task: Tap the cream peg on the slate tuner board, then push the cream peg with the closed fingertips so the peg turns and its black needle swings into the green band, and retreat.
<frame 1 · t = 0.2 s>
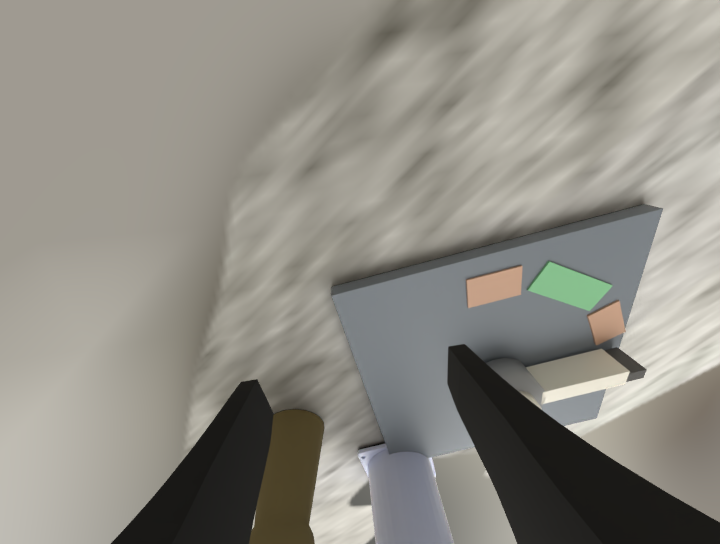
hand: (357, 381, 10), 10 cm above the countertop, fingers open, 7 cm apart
cork: (294, 426, 27), on the countertop
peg: (553, 386, 22), point 3 cm above the countertop, hinge at 0.0°
tuner board: (486, 360, 25), on the countertop
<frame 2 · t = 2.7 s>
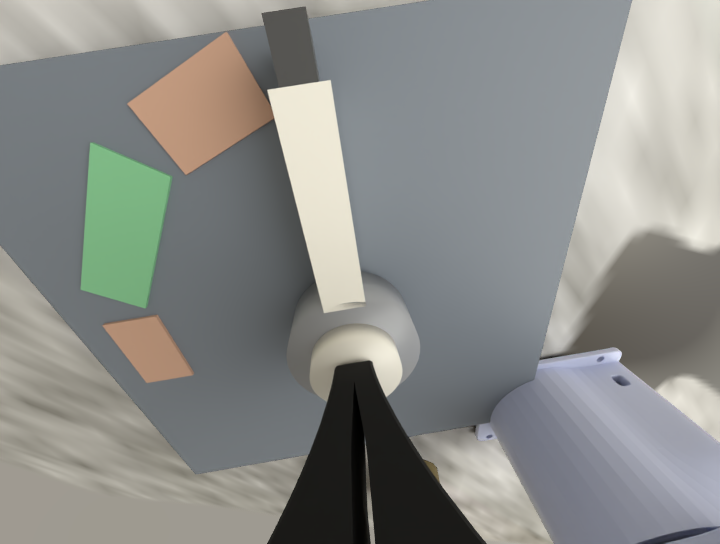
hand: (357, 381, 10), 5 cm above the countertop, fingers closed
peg: (337, 264, 10), point 3 cm above the countertop, hinge at 0.0°
tuner board: (331, 306, 15), on the countertop
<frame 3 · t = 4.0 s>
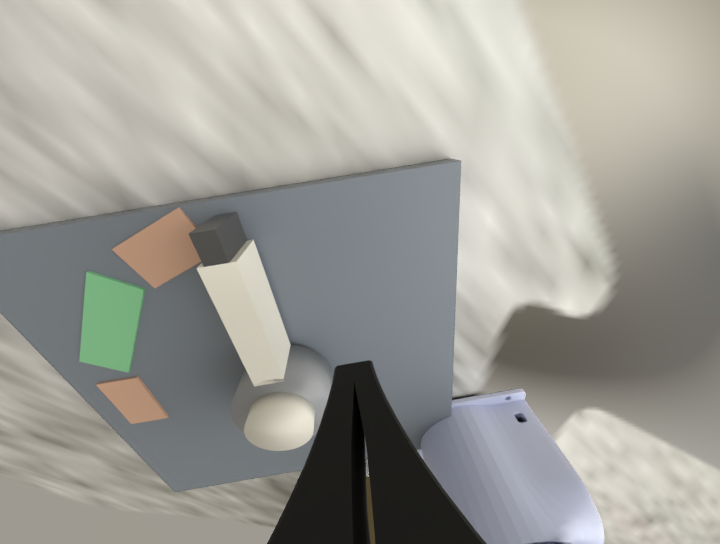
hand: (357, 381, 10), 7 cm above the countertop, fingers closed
cork: (359, 490, 28), on the countertop
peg: (263, 351, 14), point 3 cm above the countertop, hinge at 0.0°
tuner board: (278, 362, 18), on the countertop
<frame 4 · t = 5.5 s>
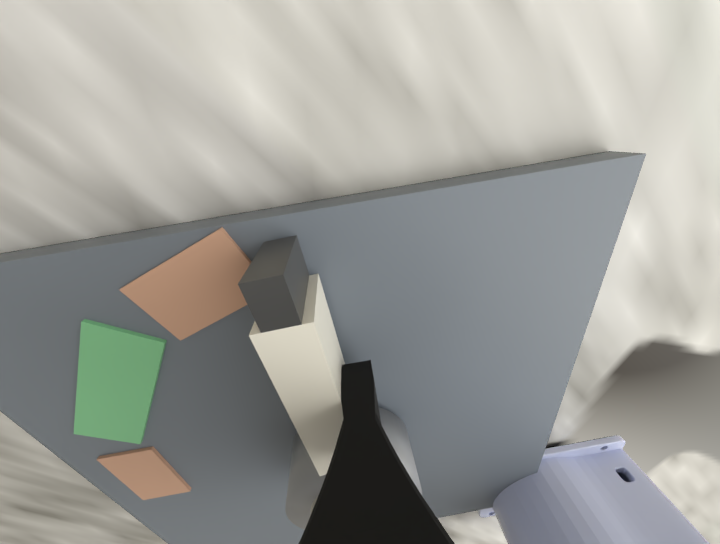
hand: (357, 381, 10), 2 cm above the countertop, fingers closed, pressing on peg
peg: (332, 429, 10), point 3 cm above the countertop, hinge at 2.2°, touching gripper
tuner board: (331, 417, 14), on the countertop
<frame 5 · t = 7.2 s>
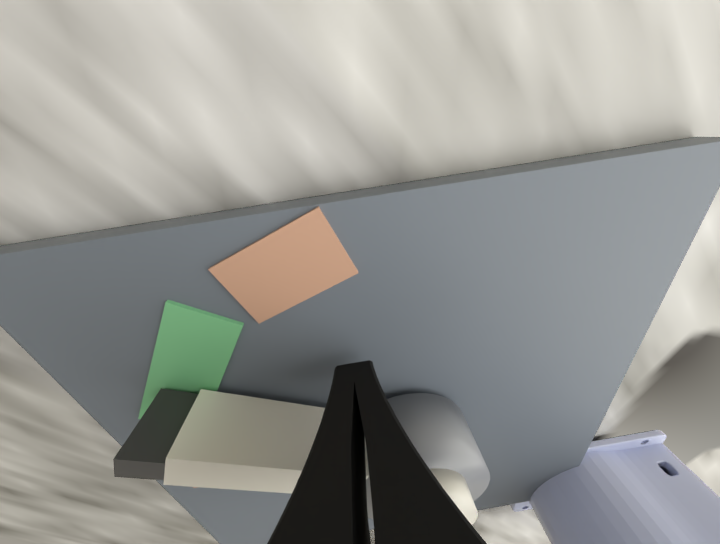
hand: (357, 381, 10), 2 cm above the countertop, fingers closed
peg: (327, 462, 10), point 3 cm above the countertop, hinge at 61.8°
tuner board: (382, 406, 14), on the countertop
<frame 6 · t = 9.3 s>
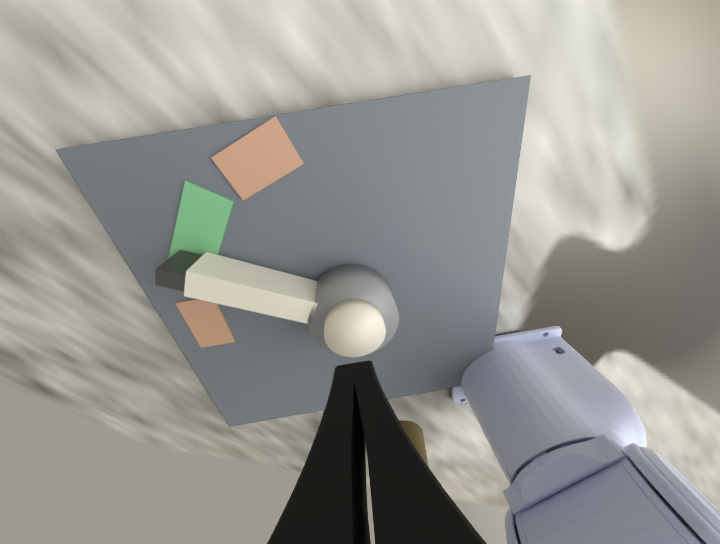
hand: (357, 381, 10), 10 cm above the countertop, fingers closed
cork: (395, 436, 29), on the countertop
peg: (289, 300, 16), point 3 cm above the countertop, hinge at 61.9°
tuner board: (337, 291, 20), on the countertop
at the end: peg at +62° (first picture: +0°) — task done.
